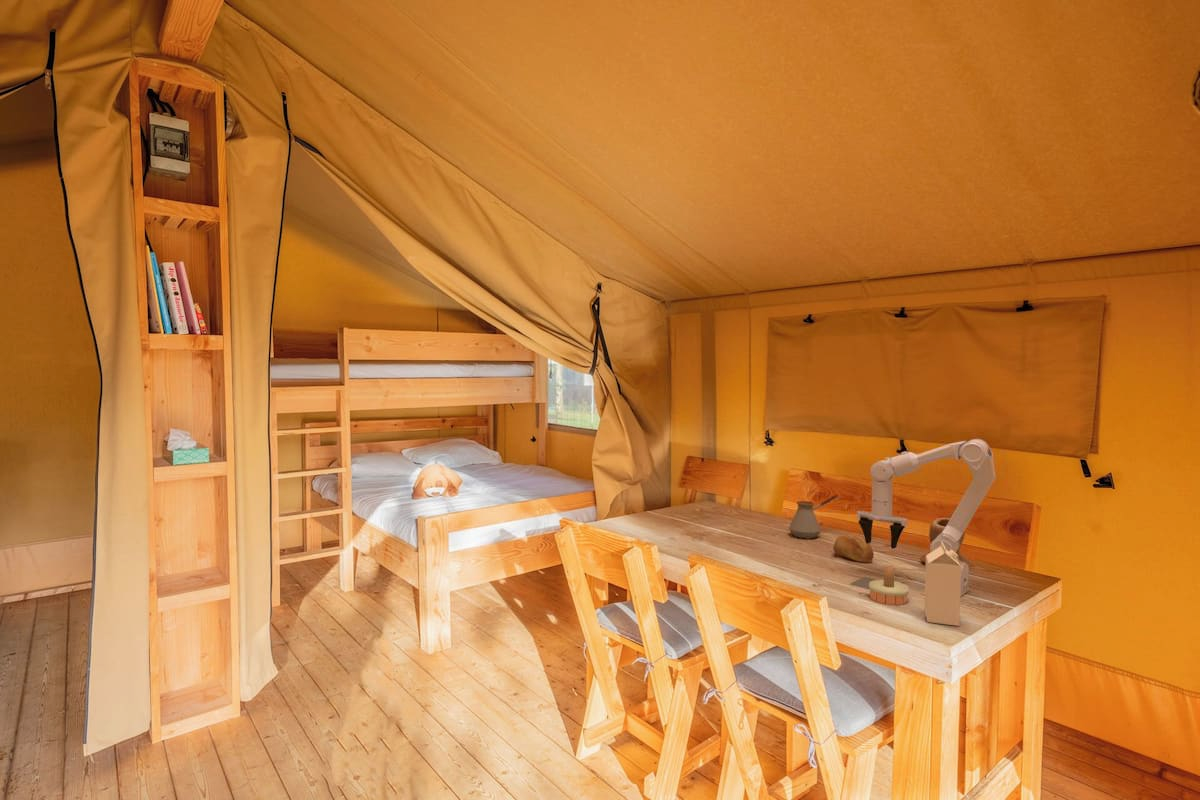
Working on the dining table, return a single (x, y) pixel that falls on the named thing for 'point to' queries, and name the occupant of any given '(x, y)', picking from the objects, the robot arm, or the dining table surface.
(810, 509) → the coffee pot
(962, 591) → the robot arm
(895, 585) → the lid
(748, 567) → the dining table surface
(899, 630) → the dining table surface
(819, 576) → the dining table surface
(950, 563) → the milk carton
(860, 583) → the mat
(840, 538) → the bread roll
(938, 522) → the stone cup
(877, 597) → the bowl
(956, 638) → the dining table surface
